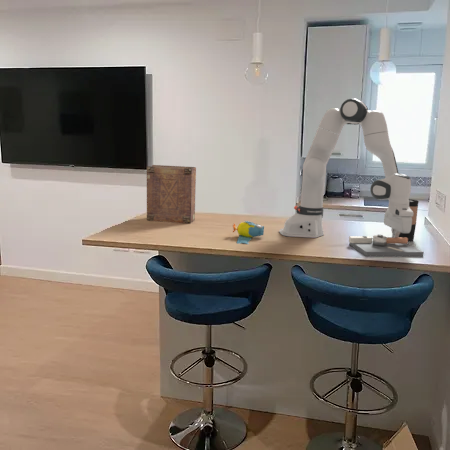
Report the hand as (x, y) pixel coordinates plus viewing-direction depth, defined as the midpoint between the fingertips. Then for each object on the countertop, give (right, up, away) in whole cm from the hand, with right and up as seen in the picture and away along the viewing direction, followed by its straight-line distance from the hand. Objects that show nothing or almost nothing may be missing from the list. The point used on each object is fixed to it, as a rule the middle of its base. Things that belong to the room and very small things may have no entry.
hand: (395, 238), depth 222 cm
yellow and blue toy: (-68, -1, +12) cm, 69 cm away
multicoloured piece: (-4, -3, -4) cm, 6 cm away
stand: (-7, -5, -5) cm, 10 cm away
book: (-110, +9, +44) cm, 118 cm away
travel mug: (+11, -1, +16) cm, 20 cm away
